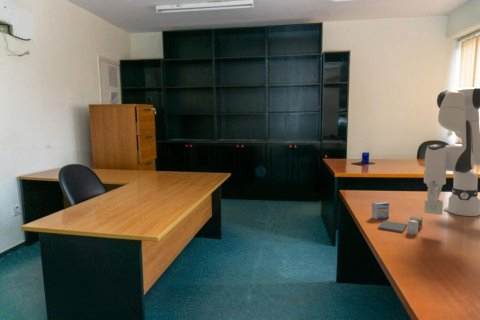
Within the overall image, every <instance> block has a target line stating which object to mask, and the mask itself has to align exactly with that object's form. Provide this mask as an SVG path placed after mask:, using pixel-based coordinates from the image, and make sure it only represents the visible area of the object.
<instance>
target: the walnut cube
mask: <svg viewBox="0 0 480 320" xmlns="http://www.w3.org/2000/svg"><path fill="white" fill-rule="evenodd" d="M409 220H416V221H418V231H419V230H422V228H423V217H421V216H416V215H410V217H409Z"/></svg>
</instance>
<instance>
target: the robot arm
mask: <svg viewBox="0 0 480 320" xmlns="http://www.w3.org/2000/svg"><path fill="white" fill-rule="evenodd" d="M436 105H437V107H438V108H439V111H438V116H437V121H438V123H439V125H440V126H441V127H442V128H443V129H445V130H447V131H449V132H453V133H454V134H455V136H456V137H457V138H459V139H461V143H452V144H447V145H444V144H439V143H438V144H437V143H435V144H430V145H427V146H426V149H425V154H424V168H425V169H424V173H423V183H424V184H426V187H427V193H426V194H427V195H426V197H427V198H426V199H427V202H428V203H430V205H431V210H435V204H436V203H437V200H439V198H440V195H441V193H442V188H443V186H444V185H446V184H447V172H452V173H453V175H452V176H453V187H452V190H451V191H452V192H451V195H450V196H449V197H448V204H447V206H446V207H445V208H444V209H443V211H445V212H449V213H450V214H454V215H459V216H464V217H465V216H466V217H476V216H480V198H479V197H478V195H479V190H478V184H479V183H478V182H479V181H478V180H479V176H478V175H477V173H476V172H474V171H472V170H473V169H474V166H480V113H479V110H480V86H475V87H461V88H455V89H450V90H444V91H440V93H438V94H437V99H436ZM446 171H447V172H446Z"/></svg>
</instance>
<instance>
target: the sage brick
mask: <svg viewBox="0 0 480 320" xmlns="http://www.w3.org/2000/svg"><path fill="white" fill-rule="evenodd" d="M443 206H444V200H442V199H438V200H437V203H436V204H435V210H431V205H430V203H428V202H427V198H425V199H424V214H430V215H431V214H432V215H438V216H439V215H440V216H442V215H443V211H444V209H443V208H444V207H443Z"/></svg>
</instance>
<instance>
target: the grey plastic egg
mask: <svg viewBox="0 0 480 320" xmlns="http://www.w3.org/2000/svg"><path fill="white" fill-rule="evenodd" d="M406 229H407V231H406V232H407V235H411V236H417V235H418V234H419V233H418V232H419V229H418V221H416V220H410V219H408V220H407V227H406Z"/></svg>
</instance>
